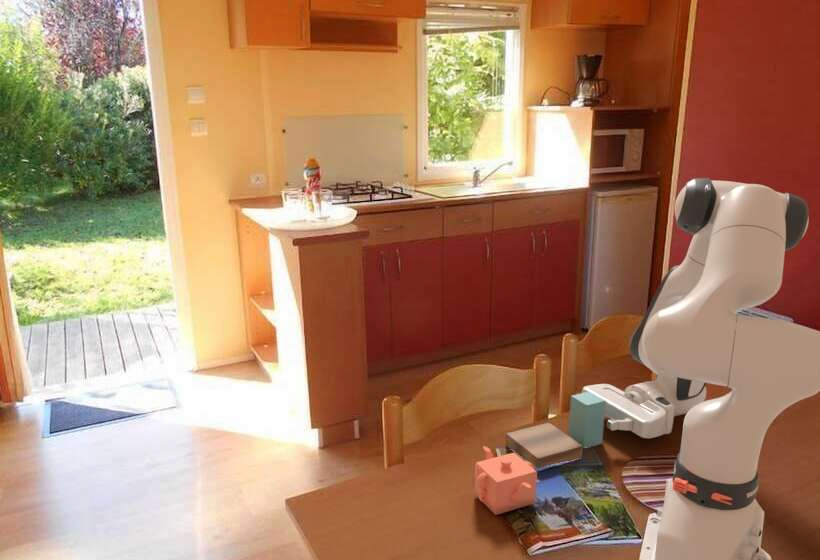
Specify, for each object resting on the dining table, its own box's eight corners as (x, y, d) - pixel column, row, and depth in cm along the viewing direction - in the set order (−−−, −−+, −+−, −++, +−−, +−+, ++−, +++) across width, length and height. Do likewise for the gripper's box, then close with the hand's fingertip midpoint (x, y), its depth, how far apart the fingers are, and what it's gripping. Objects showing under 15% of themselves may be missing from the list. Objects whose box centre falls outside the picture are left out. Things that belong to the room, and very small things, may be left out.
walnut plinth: (581, 459, 131) (582, 445, 130) (537, 472, 126) (538, 458, 125) (548, 435, 140) (548, 422, 139) (505, 446, 136) (506, 433, 135)
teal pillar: (602, 443, 137) (605, 400, 134) (583, 449, 134) (586, 405, 132) (586, 433, 141) (589, 391, 138) (568, 438, 139) (570, 395, 136)
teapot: (499, 534, 108) (500, 490, 106) (455, 488, 121) (456, 448, 119) (556, 516, 113) (559, 473, 110) (509, 473, 126) (510, 434, 124)
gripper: (610, 373, 151) (563, 384, 145) (680, 409, 133) (629, 422, 127) (608, 398, 153) (561, 409, 147) (677, 436, 135) (626, 451, 129)
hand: (593, 416), depth 137 cm, fingers open, 8 cm apart
